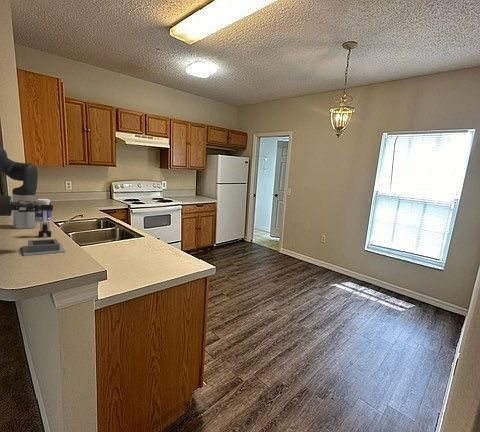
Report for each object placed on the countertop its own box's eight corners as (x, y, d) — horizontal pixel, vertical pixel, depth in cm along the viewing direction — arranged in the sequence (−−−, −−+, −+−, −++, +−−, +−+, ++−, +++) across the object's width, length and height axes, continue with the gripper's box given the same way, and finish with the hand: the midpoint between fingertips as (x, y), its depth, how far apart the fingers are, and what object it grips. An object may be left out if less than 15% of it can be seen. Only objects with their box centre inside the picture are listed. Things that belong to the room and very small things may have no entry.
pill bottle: (49, 220, 107) (49, 198, 106) (53, 222, 104) (53, 200, 103) (33, 220, 103) (33, 198, 102) (36, 223, 100) (37, 200, 99)
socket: (22, 246, 106) (21, 239, 105) (60, 244, 114) (60, 237, 114) (23, 255, 96) (23, 248, 96) (65, 252, 105) (65, 245, 105)
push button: (34, 238, 119) (34, 216, 117) (34, 235, 123) (34, 215, 121) (52, 237, 123) (52, 216, 122) (51, 235, 127) (51, 214, 126)
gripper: (-7, 197, 88) (54, 199, 99) (-6, 193, 98) (49, 195, 109) (-7, 219, 89) (54, 219, 100) (-6, 212, 99) (49, 212, 110)
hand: (51, 206), depth 105 cm, fingers closed on pill bottle, 5 cm apart
